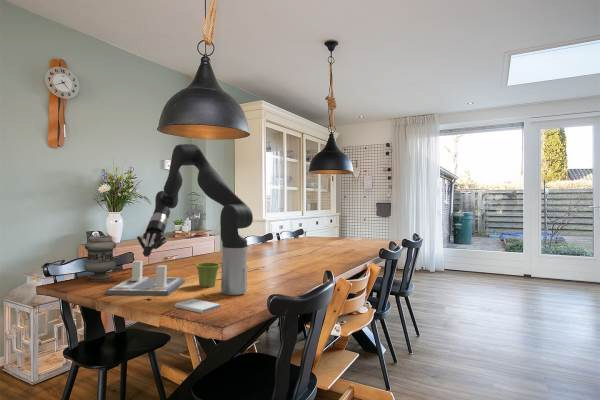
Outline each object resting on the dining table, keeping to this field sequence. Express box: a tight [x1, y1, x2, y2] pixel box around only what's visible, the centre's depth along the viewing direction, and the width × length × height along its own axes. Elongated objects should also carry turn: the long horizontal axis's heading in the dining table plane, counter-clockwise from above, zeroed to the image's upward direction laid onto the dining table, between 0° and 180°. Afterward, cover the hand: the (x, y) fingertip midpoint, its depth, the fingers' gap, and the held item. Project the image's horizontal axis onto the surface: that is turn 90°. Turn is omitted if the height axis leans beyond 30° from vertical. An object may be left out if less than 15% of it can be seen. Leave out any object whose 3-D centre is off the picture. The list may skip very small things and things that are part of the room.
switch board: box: [105, 276, 186, 296], centre depth 140 cm, size 22×21×2 cm
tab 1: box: [130, 260, 144, 281], centre depth 145 cm, size 3×4×8 cm
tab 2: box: [155, 264, 168, 288], centre depth 135 cm, size 3×4×8 cm
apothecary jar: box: [83, 235, 117, 282], centre depth 155 cm, size 12×12×18 cm
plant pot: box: [195, 262, 221, 288], centre depth 146 cm, size 9×9×9 cm
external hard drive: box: [174, 298, 222, 314], centre depth 117 cm, size 2×8×12 cm
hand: (145, 255), depth 153 cm, fingers closed
